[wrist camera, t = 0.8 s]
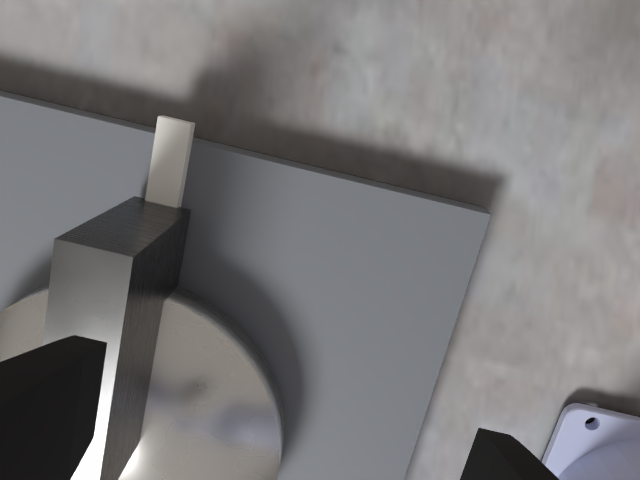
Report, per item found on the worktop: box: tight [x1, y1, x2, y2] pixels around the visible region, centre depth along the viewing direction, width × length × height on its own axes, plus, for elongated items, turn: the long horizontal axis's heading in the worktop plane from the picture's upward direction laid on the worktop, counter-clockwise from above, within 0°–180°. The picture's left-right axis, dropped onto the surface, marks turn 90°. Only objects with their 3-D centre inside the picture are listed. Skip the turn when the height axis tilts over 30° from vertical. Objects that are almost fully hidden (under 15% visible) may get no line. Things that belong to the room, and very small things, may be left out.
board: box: [0, 90, 491, 480], centre depth 20 cm, size 20×21×2 cm
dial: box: [0, 196, 284, 480], centre depth 17 cm, size 14×11×5 cm
